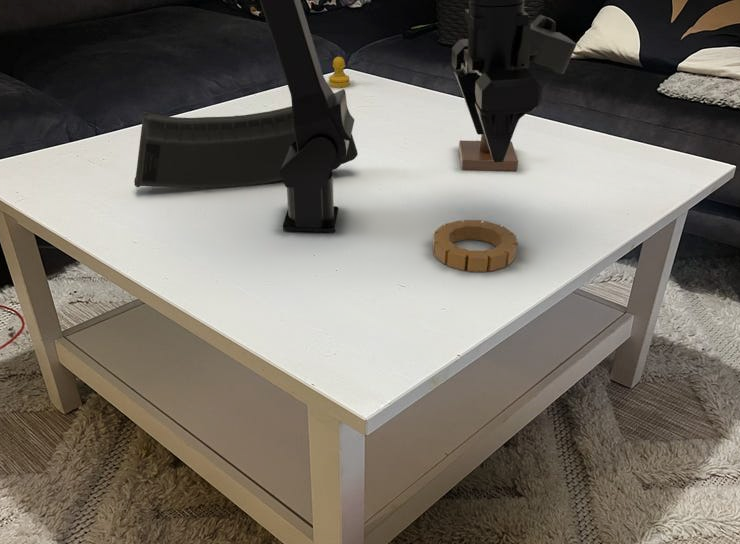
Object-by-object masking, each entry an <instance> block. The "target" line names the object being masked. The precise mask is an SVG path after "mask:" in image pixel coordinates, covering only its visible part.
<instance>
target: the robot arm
mask: <svg viewBox="0 0 740 544" xmlns="http://www.w3.org/2000/svg"><path fill="white" fill-rule="evenodd" d="M258 1H259V3H260V6H261V10H262V12H263V15H264V18H265V21H266V25H267V26H268V30H269V33H270V37H271V39H272V43H273V45H274V49H275V51H276V55H277V58H278V60H279V61H278V62H279V63H280V66H281V67H280V68H281V70H282V72H283V75H284V78H285V81H286V84H287V88H288V91H289V93H290V98H291V99H290V100H291V106H292V115H293V128H294V134H295V141H294V142H293V143H292V144H291V145H290V147H289V149H288V152H287V154H286V157H285V159H284V162H283V164H282V167H281V169H280V172H279V173H280V175H281V178H282V180H281V181H282V182H283V185H284V186H285V188H286V198H287V210H286V213H285V217H284V220H283V224H282V230H283V231H285V232H313V233H314V232H318V233H334V232H335V231H336V228H337V223H338V217H339V211H340V208H339V206H335V205H334V173H333V171H335V170H337V169H338V168H339V167H340V166H341V165H343V164H342V163H343V161H344V159H345V157H346V154H347V149H348V145H349V140H350V138H351V134H352V133H353V129H354V124H355V118H354V117H353V115H351V112H350V110H349V107H348V102H347V94H346V93H347V92H346V90H345V89H340V90H338V91H337V92H334V91H333V90H332V88H331V86H330V85H329V83H328V82H327V80H326V78H325V76H324V74H323V70H322V66H321V63H320V60H319V57H318V53H317V51H316V46H315V43H314V40H313V37H312V34H311V31H310V28H309V24H308V21H307V17H306V14H305V10H304V6H303V4H302V1H301V0H258ZM464 20H465V22H466V23H467V24H468V25H467V26H468V28H467V29H468V31H467V38H461V39H458V41H457V42H456V43H455V44H454V45H453V46H452V47H451V66H452V67H453V69H454V70H453V72H454V73H453V74H454V75H455V78H456V81H457V83H458V85H459V88H460V91H461V93H462V96H463V99H464V102H465V105H466V107H467V110H468V113H469V115H470V119H471V121H472V124H473V127H474V129H475V132H476V134H477V135H478V136H479V135H480V136H481V134H485V137H486V140H487V143H488V147H489V150H490V153H491V156H492V159H493V161H494V162H495V163H497V162H503V161H504V158H505V156H506V153H507V150H508V147H509V144H510V142H512V138H513V136H514V133H515V131H516V128H517V126H518V124H519V121H520V119H522V118H523V117H524V116H525V115H526V114H528V113H532V112H534V111H535V110H536V108H539V107H541V106H542V104H543V103H542V102H543V93H544V92H543V91H544V86H543V85H542V84H541V83H540V81H539V80H537V78H535V76H534V75H533V74H532V73H531V72H530V71H529V70H528V69H527V68H530V62H531V63H534V64H537V65H540V66H543V67H547V68H549V69H552V70H553V71H554V72H556V73H557V74H558V73H559V74H565V72H566V70H567V67H568V65H569V64H570V61H571V58H572V56H573V54H574V51H575V49H576V46H577V43H576V42H575V41H573V39H571V38H570V37H569V36H567V35H565V34H563V33H561V32H559V31H558V32H557V31H556V29H557V27H556V25H557V24H556V21H555V20H553V19H552V18H550V17H547V16H545V15H541V14H539V15H538V16H537V17H536V18H535V19H534V20H533V21H532V17H531V16H530V15H529V14H528V13H527V12H526V11H525V0H468V8H467V9H466V8H465V9H464ZM514 68H517V69H514ZM352 135H353V134H352Z"/></svg>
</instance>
